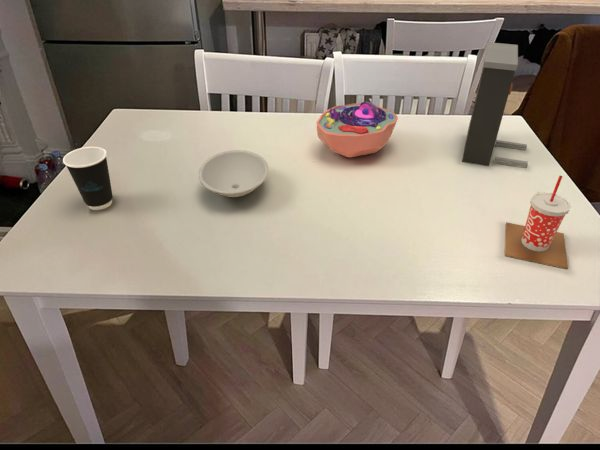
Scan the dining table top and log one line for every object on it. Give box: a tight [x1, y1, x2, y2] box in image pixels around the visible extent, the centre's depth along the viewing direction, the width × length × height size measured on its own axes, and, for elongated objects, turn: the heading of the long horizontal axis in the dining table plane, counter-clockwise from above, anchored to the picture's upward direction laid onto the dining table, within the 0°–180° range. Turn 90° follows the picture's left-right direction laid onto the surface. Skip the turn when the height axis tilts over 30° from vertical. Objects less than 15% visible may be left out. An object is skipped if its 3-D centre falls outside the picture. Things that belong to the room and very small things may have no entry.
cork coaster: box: [504, 221, 569, 270], centre depth 83 cm, size 10×10×1 cm
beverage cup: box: [521, 175, 572, 252], centre depth 79 cm, size 6×6×14 cm
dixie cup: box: [62, 146, 114, 211], centre depth 92 cm, size 8×8×11 cm
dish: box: [198, 149, 270, 198], centre depth 97 cm, size 18×14×5 cm
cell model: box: [316, 101, 399, 158], centre depth 109 cm, size 17×20×11 cm
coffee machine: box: [461, 42, 529, 169], centre depth 104 cm, size 14×14×23 cm
